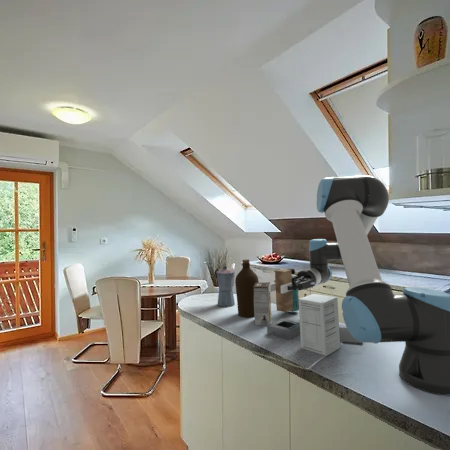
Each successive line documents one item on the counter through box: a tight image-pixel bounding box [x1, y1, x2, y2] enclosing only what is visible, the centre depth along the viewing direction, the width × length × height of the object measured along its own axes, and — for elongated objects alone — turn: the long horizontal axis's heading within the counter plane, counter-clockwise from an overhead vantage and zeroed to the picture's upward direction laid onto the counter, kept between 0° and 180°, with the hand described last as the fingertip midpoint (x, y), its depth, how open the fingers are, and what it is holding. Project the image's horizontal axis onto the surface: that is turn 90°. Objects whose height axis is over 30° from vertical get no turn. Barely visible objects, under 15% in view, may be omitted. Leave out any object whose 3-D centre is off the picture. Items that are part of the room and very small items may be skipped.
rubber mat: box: [339, 326, 364, 345], centre depth 114 cm, size 14×12×1 cm
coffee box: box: [253, 281, 272, 326], centre depth 133 cm, size 9×6×16 cm
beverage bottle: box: [286, 268, 300, 312], centre depth 145 cm, size 6×7×20 cm
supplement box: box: [298, 293, 341, 357], centre depth 104 cm, size 10×9×17 cm
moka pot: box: [214, 265, 236, 307], centre depth 164 cm, size 10×15×20 cm, turn 43°
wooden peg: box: [274, 268, 293, 313], centre depth 119 cm, size 4×4×15 cm
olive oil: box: [234, 259, 260, 318], centre depth 145 cm, size 11×11×25 cm
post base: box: [266, 318, 300, 341], centre depth 119 cm, size 10×10×4 cm
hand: (275, 288), depth 115 cm, fingers closed on wooden peg, 4 cm apart
